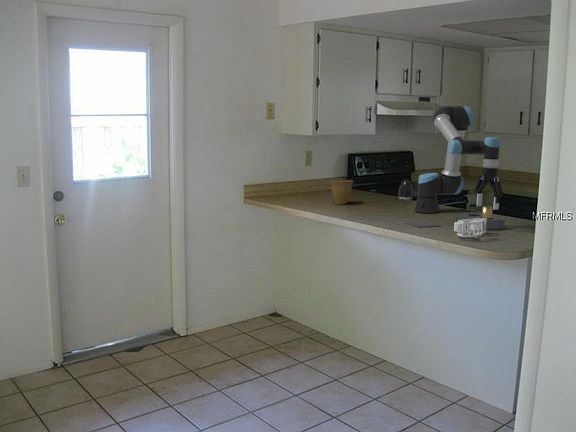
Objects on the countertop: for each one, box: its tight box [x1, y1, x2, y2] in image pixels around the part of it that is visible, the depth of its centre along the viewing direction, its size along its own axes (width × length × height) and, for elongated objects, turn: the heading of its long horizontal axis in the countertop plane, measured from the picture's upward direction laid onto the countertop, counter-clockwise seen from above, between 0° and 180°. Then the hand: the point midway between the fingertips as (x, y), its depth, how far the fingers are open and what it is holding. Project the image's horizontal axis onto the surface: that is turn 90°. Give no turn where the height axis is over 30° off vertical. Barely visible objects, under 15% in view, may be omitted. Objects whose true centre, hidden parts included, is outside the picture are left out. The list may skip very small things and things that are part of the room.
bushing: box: [481, 205, 493, 219], centre depth 317 cm, size 5×5×11 cm
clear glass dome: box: [397, 179, 414, 201], centre depth 420 cm, size 10×10×15 cm
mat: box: [404, 220, 442, 228], centre depth 323 cm, size 14×14×1 cm
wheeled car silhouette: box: [453, 218, 487, 238], centre depth 297 cm, size 20×11×7 cm, turn 120°
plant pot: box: [330, 179, 354, 204], centre depth 397 cm, size 15×15×16 cm
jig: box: [455, 212, 506, 231], centre depth 323 cm, size 24×13×5 cm, turn 20°
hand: (487, 207), depth 317 cm, fingers open, 13 cm apart
